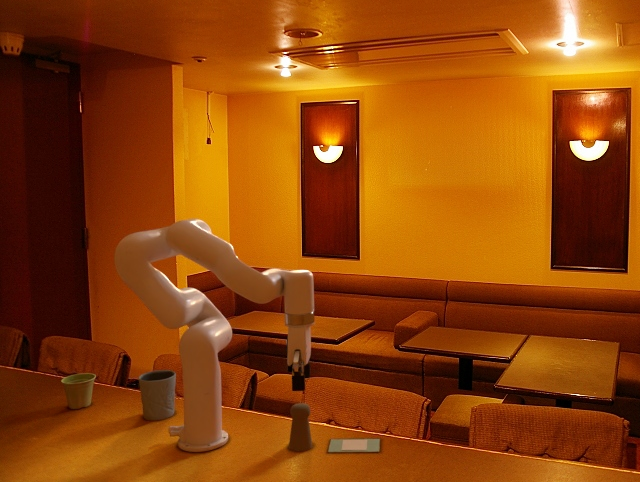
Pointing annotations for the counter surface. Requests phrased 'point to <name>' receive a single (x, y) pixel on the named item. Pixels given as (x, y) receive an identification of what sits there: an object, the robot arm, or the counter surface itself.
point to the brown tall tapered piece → (300, 428)
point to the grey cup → (158, 394)
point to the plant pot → (78, 389)
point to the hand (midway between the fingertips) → (301, 384)
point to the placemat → (354, 445)
